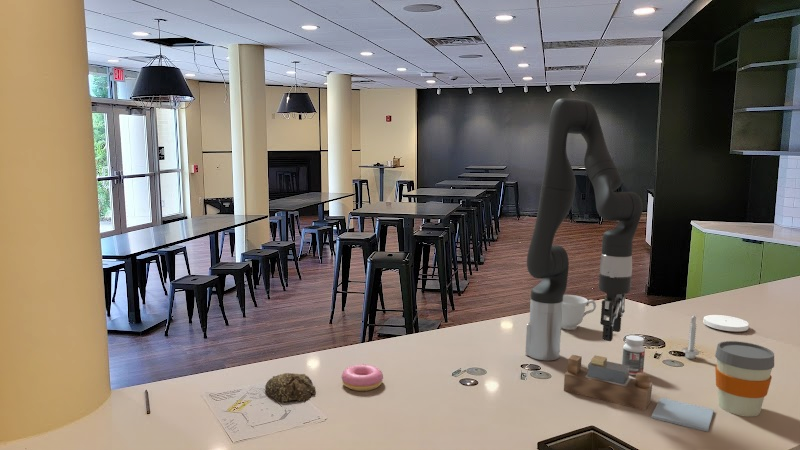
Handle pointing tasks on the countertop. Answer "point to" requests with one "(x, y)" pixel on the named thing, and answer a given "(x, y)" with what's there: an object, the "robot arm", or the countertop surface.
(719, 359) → the reusable coffee cup
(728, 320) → the plastic lid
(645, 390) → the plane body
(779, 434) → the countertop surface
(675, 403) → the rubber mat
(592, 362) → the lever cap
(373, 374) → the doughnut
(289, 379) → the mossy brown rock
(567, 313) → the teacup
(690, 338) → the screw
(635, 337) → the pill bottle
